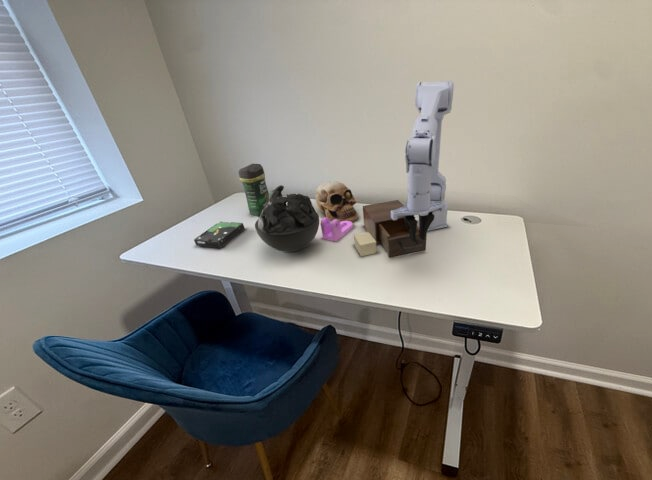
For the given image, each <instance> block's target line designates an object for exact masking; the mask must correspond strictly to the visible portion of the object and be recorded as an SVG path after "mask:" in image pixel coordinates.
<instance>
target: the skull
mask: <svg viewBox="0 0 652 480" xmlns="http://www.w3.org/2000/svg"><path fill="white" fill-rule="evenodd" d="M314 197H315V198H314V199H315V202H316V206H317V208H318V209H319V211H321V212H322V213H324V214H325V218H329V219H330V221H331V222H332V221H333V220H334V219H336V220H339V221H340V222H341V221H351V222H352V223H354V222H356V221H357V220H358V219H359V217H358V216H359V215H358V213H357V211H356V209H355V207H354V206H355V205H356V204H357V203H358V201H357V199H356V198H355V197H354V195H353V192H352V190H351V189H350V188H348V187H347V186H346V185H345V184H344V183H343V182H340V181H336V180H331V181H326V182H323V183H321V184H320V185H319V186H318V187H317V188H316V190H315V196H314Z"/></svg>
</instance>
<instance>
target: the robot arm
mask: <svg viewBox="0 0 652 480" xmlns="http://www.w3.org/2000/svg"><path fill="white" fill-rule="evenodd" d="M454 87H455V85H454V82H453V80H448V81H447V80H445V81H443V80H441V81H418V82H417V84H416V85H415V92H414V104H415V107H416V110H417V111H418V114H420V115H419V116H418V117H416V119H415V120H414V124H413V128H412V131H411V136H410V139H409V140H407V141H406V142H405V149H404V158H405V159H404V160H405V171H406V173H407V188H406V189H407V191H406V192H407V195H406V196H407V197H406V199H407V200H406V201H407V204H406V205H404V207H401V208H399V209H396V210H392V211H391V218H392V219H393V220H397V219H398V218H403V219H404V221H405V223H406V225H407V228H408V231H409V235H410V239H411V240H412V241H413V242H414V241H415V240H416V227H417V226H418V227H419V237H420V238H421V239H422V240H424V239H425V236H426V233H427V234H428V232H429V231H433V230H434V231H435V230H438V229H439V230H440V229H445V228H448V225H447V221H448V208H449V207H448V203H447V201H446V200H445V199H446V190H447V179H446V176H445V175H444V174H442V173H441V172H440V171H439V167H440V166H439V165H440V152H441V138H442V126H443V125H442V124H443V119H444V117H445V115H449V114H450V113H451V111H452V107H453V98H454V90H455V89H454ZM415 216H418V220H417V219H416V217H415Z"/></svg>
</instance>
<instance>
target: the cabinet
mask: <svg viewBox="0 0 652 480" xmlns="http://www.w3.org/2000/svg"><path fill="white" fill-rule="evenodd" d="M404 206H405V204H403V203H402V202H401V201H400V200H399V199H395V200H389V201H383V202H378V203H373V204H372V203H371V204H367V205H362V217H363V227H364V229H365V230H366V232H369V233H370V234H371V236H372V237H373V238H374V240H375V241H376V245H379V244H381V242H380V241H379V239H378V232H377V224H380V223H385V222H390V221H396V220H393V219H392V218H391V211H392V210H396V209H399V208H401V207H404ZM401 219H403V218H398V219H397V220H401Z"/></svg>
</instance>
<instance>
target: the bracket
mask: <svg viewBox="0 0 652 480" xmlns="http://www.w3.org/2000/svg"><path fill="white" fill-rule="evenodd" d="M353 223H354V222H351V221H341V222H340V221H339V220H336V219H334V220H333V221H332V220H330V219H329V218H327V217H326V216H324V217H322V218H321V220H320V230H321V235H322V239H323V240H327V241H330V242H331V241H332V242H338V241H339V240H340V239H341V238H343V237H344V236H345V235H346V234H348V233H349V232H350V231H351V230H352V229H354V224H353Z"/></svg>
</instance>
